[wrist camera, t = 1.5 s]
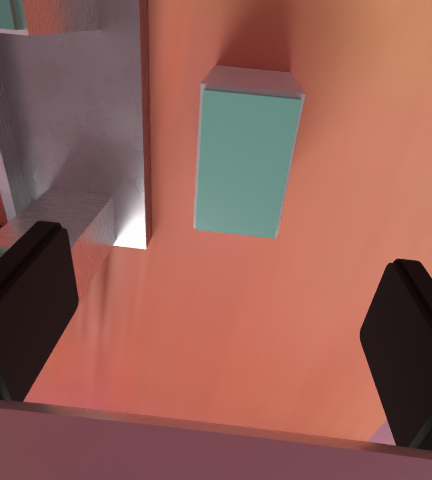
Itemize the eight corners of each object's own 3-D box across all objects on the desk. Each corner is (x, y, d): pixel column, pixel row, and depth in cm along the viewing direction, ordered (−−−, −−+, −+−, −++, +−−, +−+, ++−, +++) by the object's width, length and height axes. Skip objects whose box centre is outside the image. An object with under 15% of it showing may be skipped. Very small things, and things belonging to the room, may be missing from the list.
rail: (146, -57, 21) (66, -112, 12) (151, 236, 32) (111, 324, 23) (-21, -71, 21) (-220, -135, 12) (40, 223, 32) (-44, 304, 23)
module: (290, 72, 24) (306, 95, 17) (271, 184, 28) (277, 241, 21) (215, 64, 24) (199, 85, 17) (207, 177, 28) (191, 232, 21)
